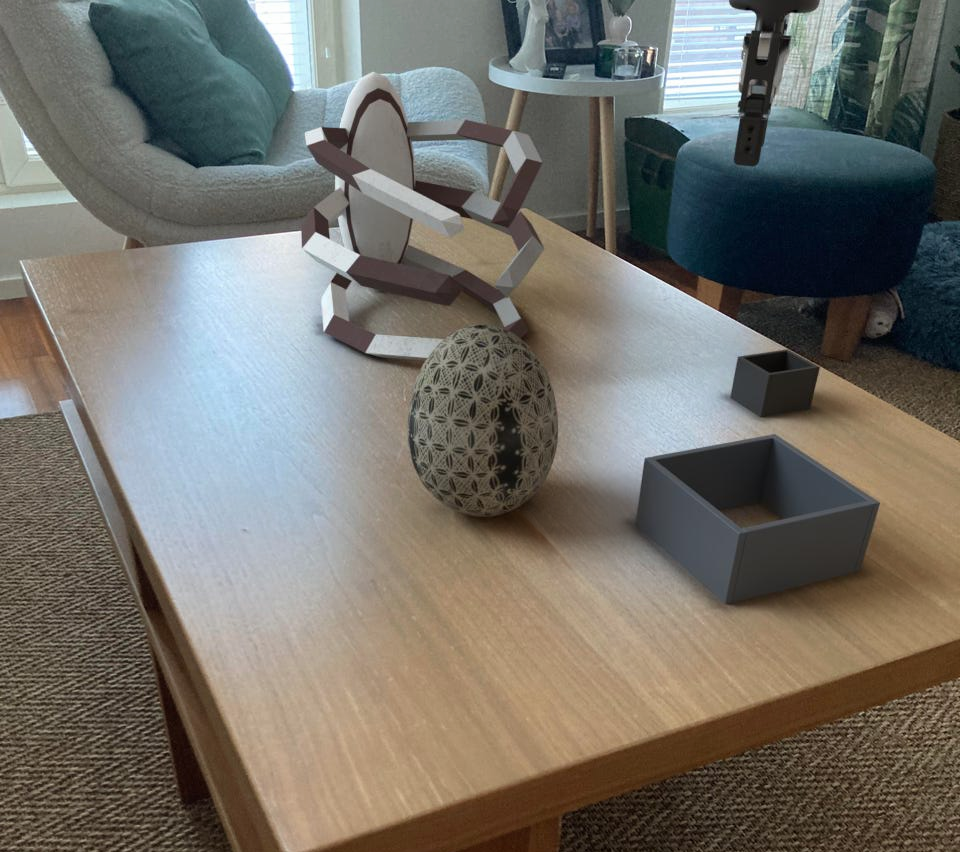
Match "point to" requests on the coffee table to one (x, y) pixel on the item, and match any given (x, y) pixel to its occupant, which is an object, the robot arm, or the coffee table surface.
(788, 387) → the small bin
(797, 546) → the grey bin
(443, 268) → the segmented loop sculpture
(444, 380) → the decorative egg
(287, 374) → the coffee table surface
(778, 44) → the robot arm
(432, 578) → the coffee table surface
